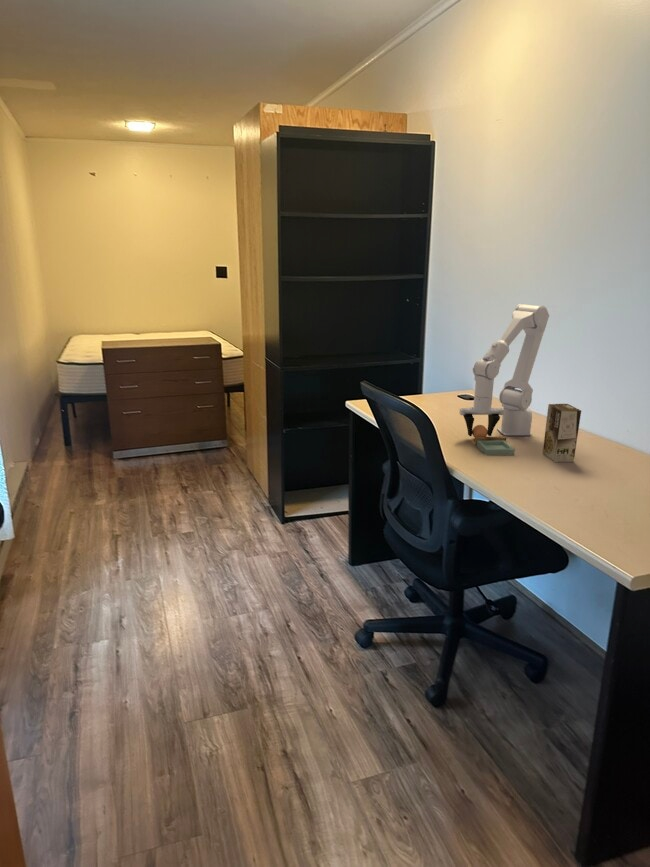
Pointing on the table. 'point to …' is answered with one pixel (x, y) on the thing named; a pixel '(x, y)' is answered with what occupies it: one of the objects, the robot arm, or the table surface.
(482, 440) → the rail
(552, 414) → the coffee box
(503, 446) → the tray
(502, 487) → the table surface
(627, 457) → the table surface
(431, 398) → the table surface
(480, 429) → the ball
